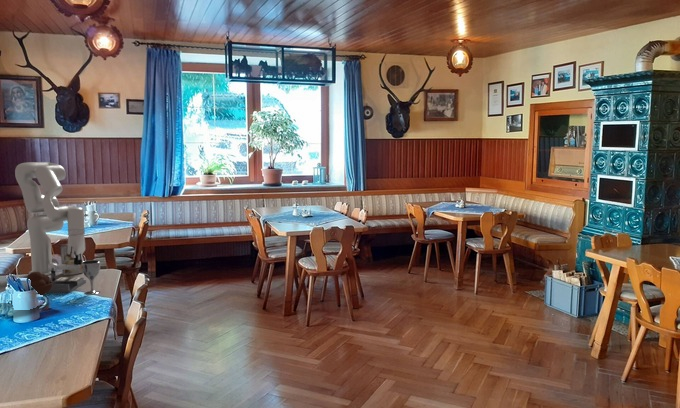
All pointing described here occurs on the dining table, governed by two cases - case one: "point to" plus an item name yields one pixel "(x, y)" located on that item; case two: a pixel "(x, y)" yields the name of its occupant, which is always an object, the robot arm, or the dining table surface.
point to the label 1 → (61, 279)
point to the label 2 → (74, 279)
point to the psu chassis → (64, 284)
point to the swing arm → (63, 267)
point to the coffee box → (67, 260)
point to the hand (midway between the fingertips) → (78, 267)
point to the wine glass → (91, 273)
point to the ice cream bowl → (40, 282)
